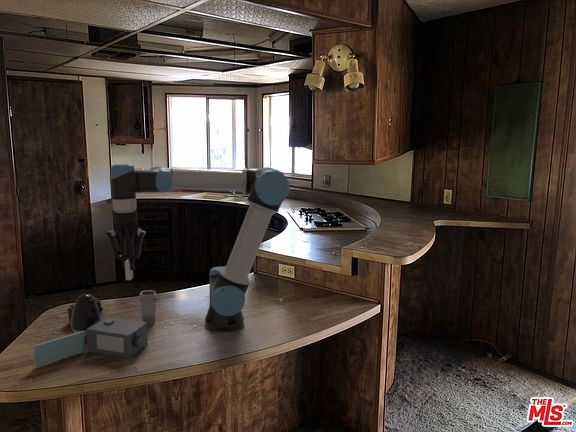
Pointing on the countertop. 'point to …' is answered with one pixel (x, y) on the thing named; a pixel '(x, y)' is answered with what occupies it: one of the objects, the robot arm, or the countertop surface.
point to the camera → (74, 304)
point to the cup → (148, 306)
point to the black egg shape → (84, 314)
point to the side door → (59, 348)
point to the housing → (117, 337)
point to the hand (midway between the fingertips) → (129, 278)
